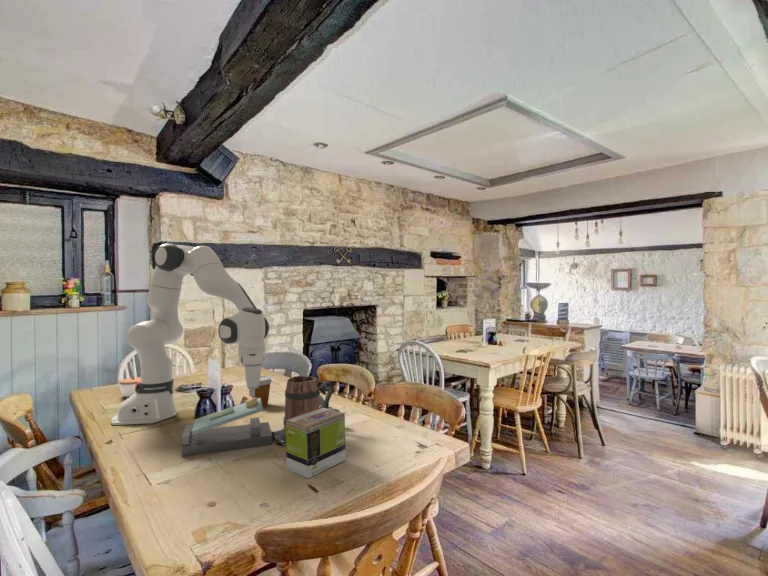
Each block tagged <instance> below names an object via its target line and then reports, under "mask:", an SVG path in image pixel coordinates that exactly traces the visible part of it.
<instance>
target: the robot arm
mask: <svg viewBox="0 0 768 576" xmlns="http://www.w3.org/2000/svg"><path fill="white" fill-rule="evenodd" d="M153 260H154V264H155V268H154V270H153V273H152V275H151V280H150V283H149V284H150V285H149V290H148V295H147V300H146V304H147V307H149V308H150V312H151V319H149V320H145V321H141V322H138V323H136V324H134V325H132V326H131V327H130V328H129V329H128V331H127V334H126V340H127V343H128V344H129V345H130V347H132V348H133V349H134V351H136V353H137V357H138V359H139V364H140V377H141V381H138V382H137V383H136V385H135V391H136V392H135V393H134V394H133V395H131V396H130V397H129V398H126V399H125V400H124V401H122V403H120V405H119V408H118V411H117V414H115V415H114V416H113V417H112V418H111V420H110V424H111V426H112V425H113V426H123V425H126V426H127V425H141V424H142V425H144V424H154V423H158V422H160V421H162V420H163V421H164V420H166V419H169V418H172V417H174V416H176V415H177V414H178V412H177V409H176V405H175V399H174V392H175V383H174V379H173V361H172V359H171V357H169V356H168V354H167V351H166V347H165V346H166V345H171V344H173V343H174V342H176V341H178V340H179V339H180V338H181V337H182V335H183V332H184V328H183V325H182V323H181V321H179V310H178V309H179V301H180V296H181V290H182V286H183V280H184V277H185V276H187V275H190V276H193V279H194V280H195V283H196V285H197V286H198V288H199V289H200V290H201V291H202V292H203V293H204V294H207V295H210V296H213V297H218V298H221V299H225V300H228V301H229V302H231V303H232V304H234V306H235V307H236V308H237V310H238V312H237V313H236V314H234V315H232V316H228V317H226V318H223V319H222V320H221V321H220V322H219V326H218V331H217V332H218V337H219V339H220V340H221V341H222V342H223V343H224V344H226V345H227V344H228V345H237V344H238V346H237V347H238V348H237V349H238V350H237V352H238V353H237V354H238V355H237V359H238V362H239V363H241V365H242V367H243V369H244V373H245V384H246V388H247V389H248V397H250V398H252V397H253V396H255V388H259V384H260V376H261V375H262V365H263V364H264V361H266V343H265V339H266V338H267V336H268V334H269V332H270V331H269V330H270V324H269V321H268V319H267V318H266V317H265V314H264V312H263V310H261V309H259V308H258V307H256V305H255V304H254V302H253V301H252V298H251V297H250V296H249V295H248V293H247V292H246V290H245V289H244V288H243V286H242V285H241V284H240V283H239V282H237V281H236V280H235V279H234V277H233V278H232V276H231V275H230V274H229V273H228V272H227V270H226V269H225V267H224V265H223V262H222V260H221V259H220V257H219V256H218V255H217V253H216V252H215V250H213V249H212V248H211V247H209V246H207V245H198V246H196V247H195V246H192V245H182V244H175V243H163V244H161V245H159V246H158V247H157V248H156V250H155V252H154V259H153Z"/></svg>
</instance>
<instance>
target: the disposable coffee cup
mask: <svg viewBox="0 0 768 576" xmlns="http://www.w3.org/2000/svg"><path fill="white" fill-rule="evenodd" d="M271 383H272V379H271V376H268V375H265V376H264V375H262V376H261V375H260V384H259V388H255V396H253V397H251V398H254V397H257V399H258V398H260V399H261V403H262V407H263V408H265V407H268V405H269V398H270V389H271Z"/></svg>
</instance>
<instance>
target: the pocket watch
mask: <svg viewBox="0 0 768 576" xmlns="http://www.w3.org/2000/svg"><path fill="white" fill-rule="evenodd" d="M321 394H322V393H321V391H319V409H320V408H323V407H324V402H325V398H324V396H322V395H321ZM328 409H330V410H333V409H334V408H333V407H332V406H329V407H328Z"/></svg>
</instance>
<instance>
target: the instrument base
mask: <svg viewBox="0 0 768 576" xmlns="http://www.w3.org/2000/svg"><path fill="white" fill-rule="evenodd" d="M193 425H194V423H186V425H185V427H184V430H183V433H182V437H181V457H191V456H197V455H204V454H205V455H206V454H213V453H219V452H226V451H235V450H241V449H249V448H250V449H251V448H256V447H262V446H270V445H271V446H272V445H273V434H272V429H271V426H270V423H269V422H268V421H266V422H261V421H260V417H250V418H249V424H240V425H231V426H223V427H215V428H212V429H209V430H206V431H203V432H200V433H197V434H194V435H192V428H193Z"/></svg>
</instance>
